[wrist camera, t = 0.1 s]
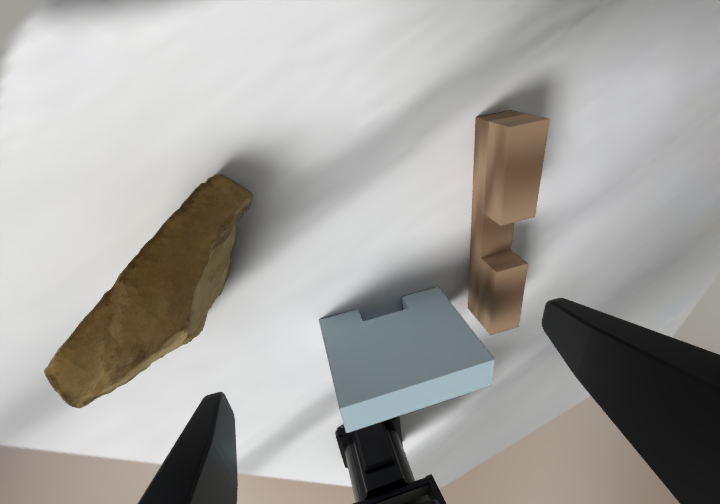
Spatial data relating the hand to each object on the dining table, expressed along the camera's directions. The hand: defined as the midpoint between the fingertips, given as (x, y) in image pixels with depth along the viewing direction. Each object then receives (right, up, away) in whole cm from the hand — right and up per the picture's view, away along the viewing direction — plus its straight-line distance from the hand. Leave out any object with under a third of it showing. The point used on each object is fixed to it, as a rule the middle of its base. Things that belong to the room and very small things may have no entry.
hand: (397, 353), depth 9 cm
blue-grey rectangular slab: (+1, -2, +19) cm, 19 cm away
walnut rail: (+9, +5, +17) cm, 20 cm away
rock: (-11, +3, +13) cm, 17 cm away
